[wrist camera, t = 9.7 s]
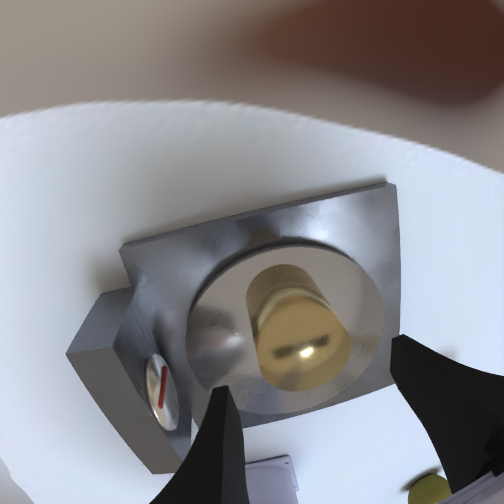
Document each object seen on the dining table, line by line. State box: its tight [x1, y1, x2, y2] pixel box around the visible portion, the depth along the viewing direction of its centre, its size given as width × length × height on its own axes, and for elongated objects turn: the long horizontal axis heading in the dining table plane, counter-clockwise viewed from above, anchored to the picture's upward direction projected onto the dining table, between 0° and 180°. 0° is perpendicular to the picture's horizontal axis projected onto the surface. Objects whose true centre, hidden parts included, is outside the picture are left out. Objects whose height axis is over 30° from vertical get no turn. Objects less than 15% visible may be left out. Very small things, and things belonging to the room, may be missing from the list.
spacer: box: [246, 264, 352, 392], centre depth 17 cm, size 4×4×6 cm
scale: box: [66, 182, 401, 474], centre depth 20 cm, size 18×21×7 cm
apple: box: [408, 474, 451, 504], centre depth 36 cm, size 8×8×7 cm
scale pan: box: [186, 244, 384, 414], centre depth 21 cm, size 14×14×1 cm
